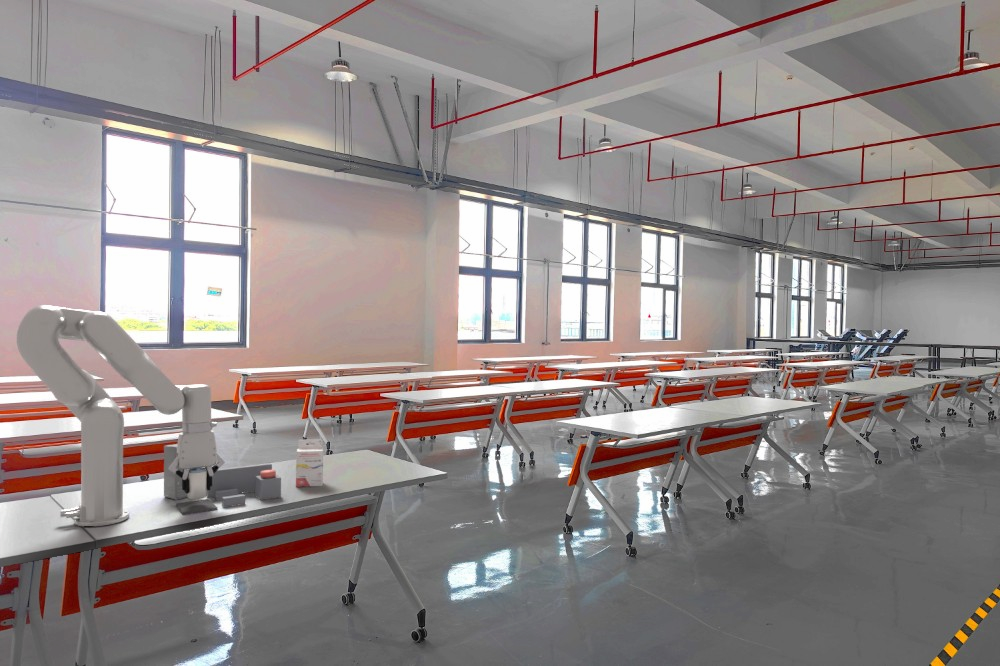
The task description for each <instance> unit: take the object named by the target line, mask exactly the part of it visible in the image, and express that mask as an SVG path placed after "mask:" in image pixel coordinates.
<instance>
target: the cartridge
mask: <svg viewBox="0 0 1000 666" xmlns="http://www.w3.org/2000/svg"><path fill="white" fill-rule="evenodd" d="M188 479H189V493H188V497H187V499H189V500H202V499H204V498H205V499H206V498H208V497H207V470H206V468H205V467H200V468H192V469H189V473H188Z"/></svg>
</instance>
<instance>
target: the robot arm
mask: <svg viewBox="0 0 1000 666" xmlns="http://www.w3.org/2000/svg"><path fill="white" fill-rule="evenodd" d="M59 339H60V340H69V341H70V340H71V341H81V342H87V343H88V344H89V345H90V346H91V348H93V349H94V351H96V353H98V355H100V357H102V358H103V359H104V360H105V362H106V363H107V364H109V365H110V367H112V369H114V370H115V372H116V373H118V374H119V375H120V377H122V378H123V379H124V380H126V381H127V382H129V384H131V385H132V386H133V387H134V388H135V389H136V390H137V391H138V392H139V393H140V395H142V396H143V397H144V398H145V399H146V400H147V401H148V402H149V404H151V405H152V406H153V408H155V409H156V410H157V412H159V414H160V413H161V414H164V415H168V416H169V415H175V414H177V413H178V412H180V411H181V412H182V413H181V415H182V417H181V419H182V420H181V421H182V422H181V423H182V425H181V426H182V428H181V429H182V432H180V433H178V438H177V439H178V440H177V443H176V444H177V458H176V459H175V460H174V461H173V463H172V464H171V465H170V466H169V470H170V471H172V472H174V473H175V474H177V475H178V476H179V477H181V478H182V490H184V492H185V493H186V494H187V493H189V479H188V477H187V476H188V473H189V469H192V468H200V467H202V468H206V470H207V490H210V487H211V486H212V476H213V475H214V473H215V472H216V471H217V470H218V469H221V467H222V466H223V465H225V460H224V459H223V458H222V457H221V456H220V455H219V454H218V451H217V443H216V435H215V431H214V430H213V428H216V427H218V425H217V422H216V421H215V422H214V421H212V388H211V387H210V385H208V384H202V383H200V384H199V383H198V384H197V383H196V384H187V385H178V384H177V385H176V384H175V383H174V382H173V381H172V380H171V379H170V378H169V377H167V375H166V374H165V373H164V372H163V371H162V369H161V368H159V367H158V366H157V364H155V362H154V361H153V360H152V358H151V357H150V356H149V354H147V352H145V350H144V349H143V348H142V347H141V346H140V345H139V344H138V343H137V342H136V341H135V340H134V339H133V338H132V336H131V335H130V334H128V333H127V331H126V330H124V329H123V327H122V326H121V325H120V324H119V323H118V322H117V321H116V320H115V319H114V318H113V317H112V316H111V315H110V314H108V313H106V312H103V311H98V310H97V311H94V310H93V311H92V310H85V309H74V308H68V307H67V308H66V307H61V306H53V305H49V304H48V305H47V304H40V305H36V306H34V307H32V308H31V309H29V310H28V311H27V312H26V313H25V315H24V316H23V318H22V319H21V321H20V324H19V325H18V329H17V331H16V346H17V349H18V352H19V354H20V356H21V358H22V359H23V361H24V362H25V363H26V364H27V366H29V368H30V369H31V371H33V373H34V374H35V375H36V376H37V377H38V378H39V379H40V381H41V382H42V383H43V384H44V385H45V386H46V388H47V389H49V391H50V392H51V393H52V395H53V396H54V398H55V399H56V400H57V401H58V402H60V403H61V404H63V405H65V406H66V408H67V409H68V410H69V411H70V412H71V413H72V414H73V415H74V417H76V418H77V419H78V420H79V422H80V435H81V436H80V437H81V438H80V440H81V443H80V445H81V446H80V449H81V451H80V455H81V456H80V465H81V468H80V471H81V474H80V476H81V477H80V478H81V479H80V482H81V483H80V484H81V487H80V489H81V490H80V495H81V496H80V499H81V500H80V503H78V506H74V508H70V509H69V508H65V509H60V512H59V514H60V515H59V517H60V518H65V519H68V518H69V519H70V518H74V520H73V524H74V525H75V526H78V527H84V526H94V527H103V526H108V525H115V524H118V523H121V522H123V521H125V520H128V518H130V512H129V510H126V509H123V508H124V505H123V504H124V501H123V500H124V477H123V476H124V465H123V464H124V435H125V434H124V433H125V432H124V431H125V418H124V413H123V412H122V409H121V408H120V406H119V405H118V403H117V402H116V401H115V400H114V399H113V398H112V397H111V396H110V395H109V394H108V392H106V390H105V389H104V388H103V387H102V385H100V384H99V382H98V381H97V379H96V378H94V377H93V375H91V373H90V372H88V371H87V370H85V369H82V368H81V367H80V366H79V365H78V363H77V362H76V361H75V360H74V359H73V358H72V357H71V356H70V354H69V353H68V352H67V351H66V350H65V349H64V348H63V346H62V345H61V344H60V340H59ZM177 465H178V466H179V467H180V468H181V469H182V472H181V471H180V470H178V469H177V468H176V466H177Z"/></svg>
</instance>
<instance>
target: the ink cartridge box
mask: <svg viewBox="0 0 1000 666" xmlns="http://www.w3.org/2000/svg"><path fill="white" fill-rule="evenodd" d="M309 443H312V444H309ZM323 443H324V440H323V439H321V438H316V439H307V438H306V439H297V449H296V458H295V459H296V461H295V462H296V464H295V465H296V466H295V468H296V469H295V471H296V472H295V487H296V488H298V487H299V488H301V487H302V486H305V487H323V483H324V482H323V481H324V448H323V447H324V444H323Z"/></svg>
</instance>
